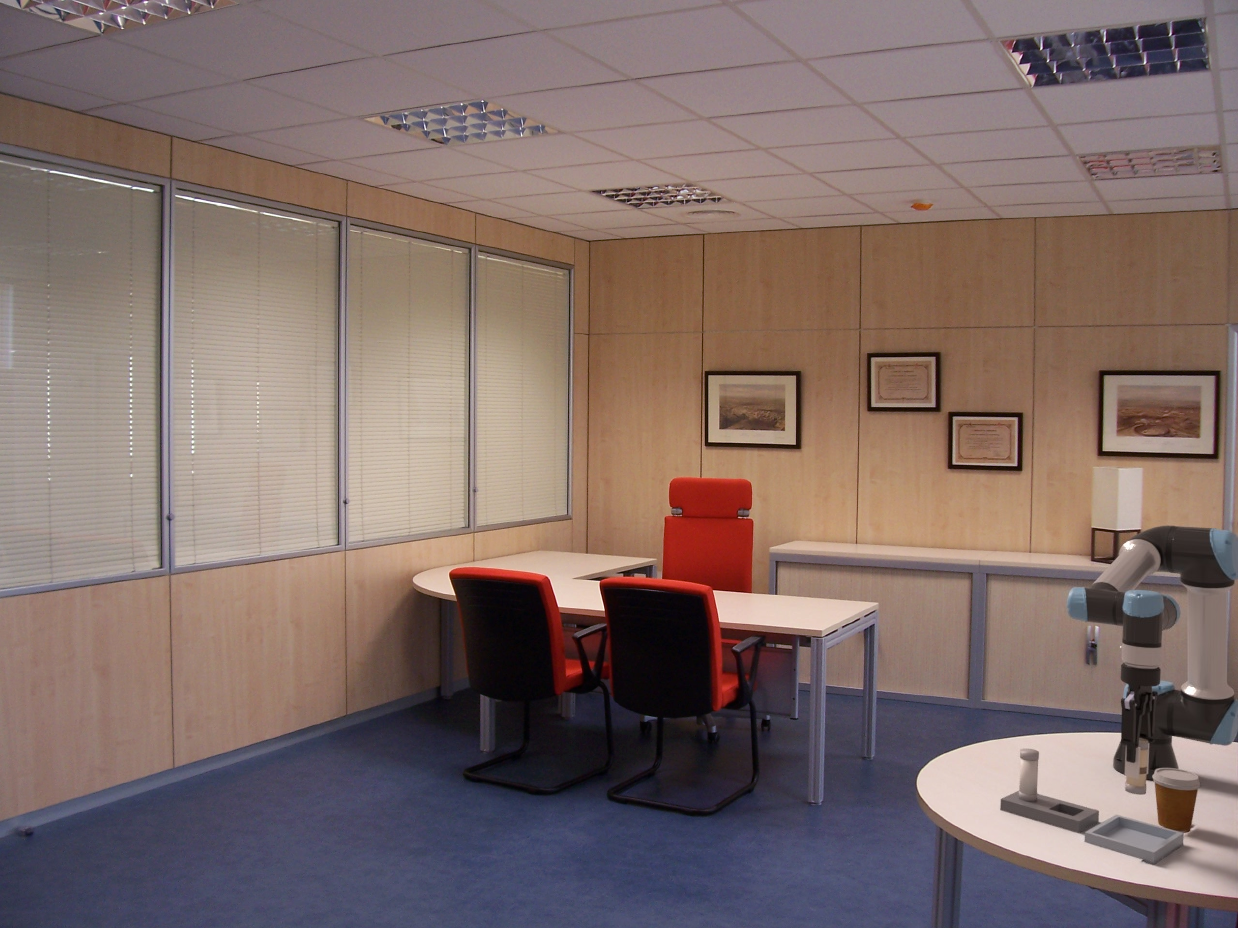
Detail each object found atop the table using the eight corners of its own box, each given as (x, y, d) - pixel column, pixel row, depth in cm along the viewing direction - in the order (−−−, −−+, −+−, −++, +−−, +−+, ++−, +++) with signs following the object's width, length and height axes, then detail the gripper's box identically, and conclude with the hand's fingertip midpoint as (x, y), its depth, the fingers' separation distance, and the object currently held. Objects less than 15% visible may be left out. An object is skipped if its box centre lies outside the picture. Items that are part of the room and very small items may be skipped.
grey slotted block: (1021, 801, 253) (1023, 742, 252) (1098, 823, 240) (1100, 761, 239) (1000, 811, 246) (1002, 751, 245) (1078, 834, 233) (1080, 770, 232)
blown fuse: (1129, 786, 231) (1131, 735, 230) (1149, 791, 228) (1151, 740, 227) (1122, 790, 228) (1124, 739, 227) (1141, 795, 225) (1143, 743, 224)
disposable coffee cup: (1197, 838, 232) (1199, 783, 231) (1148, 829, 237) (1150, 775, 236) (1200, 825, 240) (1202, 772, 239) (1152, 816, 245) (1154, 764, 244)
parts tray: (1115, 825, 239) (1116, 814, 239) (1183, 844, 229) (1183, 832, 228) (1084, 843, 228) (1084, 832, 228) (1153, 864, 218) (1153, 852, 218)
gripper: (1138, 656, 235) (1134, 762, 236) (1105, 666, 224) (1101, 778, 224) (1175, 662, 230) (1170, 770, 231) (1143, 673, 218) (1138, 787, 219)
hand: (1136, 774), depth 228 cm, fingers closed on blown fuse, 4 cm apart
